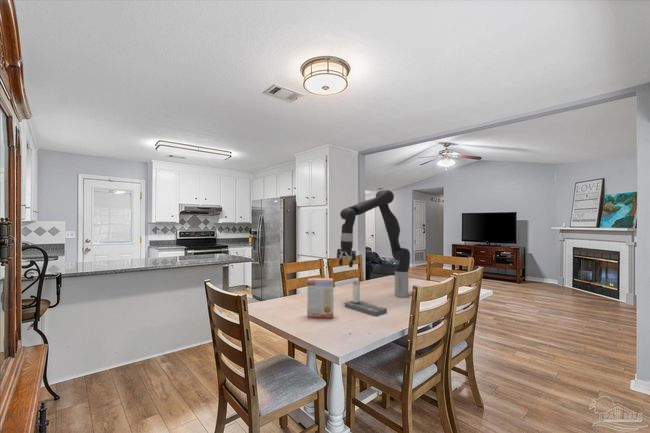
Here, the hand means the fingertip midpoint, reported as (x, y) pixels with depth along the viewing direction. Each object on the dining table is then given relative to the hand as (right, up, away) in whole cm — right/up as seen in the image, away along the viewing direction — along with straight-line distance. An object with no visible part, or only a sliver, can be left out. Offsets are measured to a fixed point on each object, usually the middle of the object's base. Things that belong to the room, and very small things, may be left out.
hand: (345, 266), depth 196 cm
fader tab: (+6, -21, -5) cm, 23 cm away
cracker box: (-15, -24, -23) cm, 37 cm away
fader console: (+11, -24, -10) cm, 28 cm away
